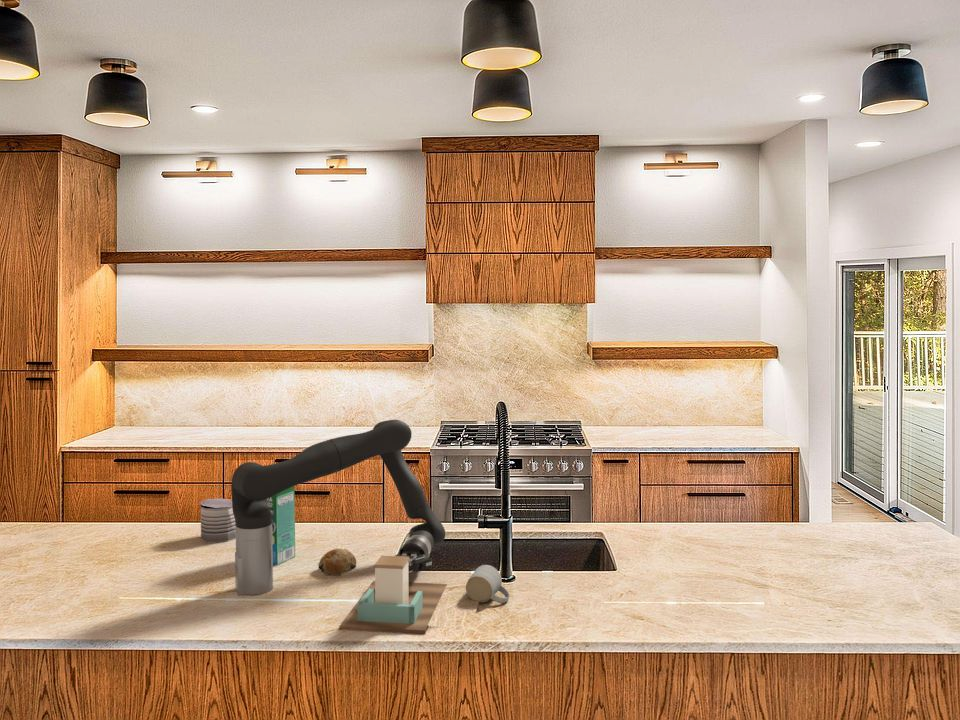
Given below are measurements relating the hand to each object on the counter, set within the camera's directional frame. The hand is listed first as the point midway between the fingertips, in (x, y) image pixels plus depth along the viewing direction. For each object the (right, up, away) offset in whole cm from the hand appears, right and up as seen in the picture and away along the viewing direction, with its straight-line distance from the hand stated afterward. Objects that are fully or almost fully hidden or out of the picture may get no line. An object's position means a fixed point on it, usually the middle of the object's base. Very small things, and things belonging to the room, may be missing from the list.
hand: (401, 573), depth 193 cm
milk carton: (-41, -5, +32) cm, 52 cm away
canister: (-1, -7, -10) cm, 12 cm away
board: (-1, -7, -4) cm, 8 cm away
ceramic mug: (+22, -7, +2) cm, 23 cm away
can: (-64, -4, +54) cm, 84 cm away
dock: (-1, -8, -10) cm, 12 cm away
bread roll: (-20, -6, +23) cm, 31 cm away
